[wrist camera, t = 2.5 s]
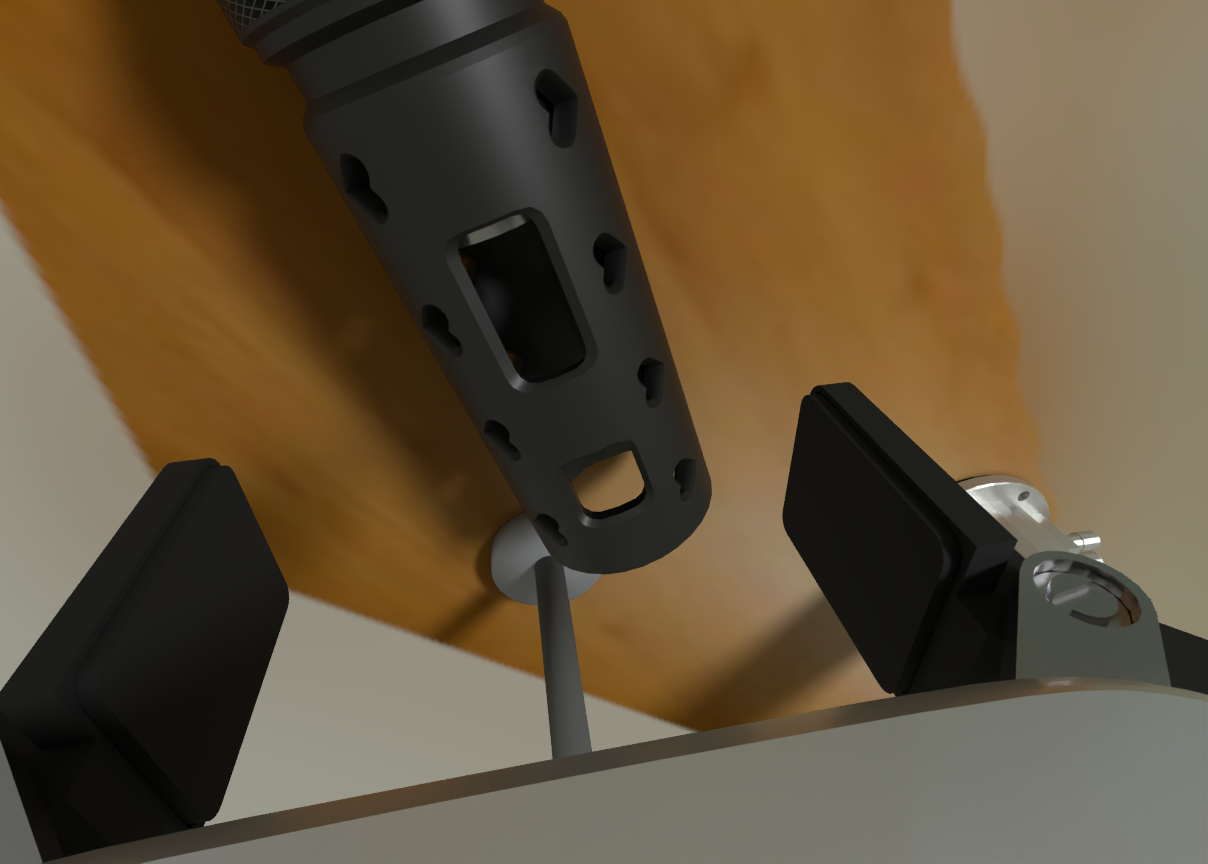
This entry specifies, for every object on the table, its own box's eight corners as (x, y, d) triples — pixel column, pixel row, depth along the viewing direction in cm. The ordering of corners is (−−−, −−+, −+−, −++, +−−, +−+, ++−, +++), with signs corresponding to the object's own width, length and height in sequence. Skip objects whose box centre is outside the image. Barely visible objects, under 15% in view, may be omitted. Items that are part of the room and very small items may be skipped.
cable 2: (598, 499, 37) (662, 756, 24) (602, 579, 41) (659, 837, 28) (483, 515, 36) (484, 789, 23) (498, 595, 40) (506, 869, 27)
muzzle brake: (529, 471, 35) (544, 610, 27) (188, -158, 20) (-41, -307, 11) (682, 412, 35) (747, 535, 26) (460, -282, 19) (443, -537, 10)
